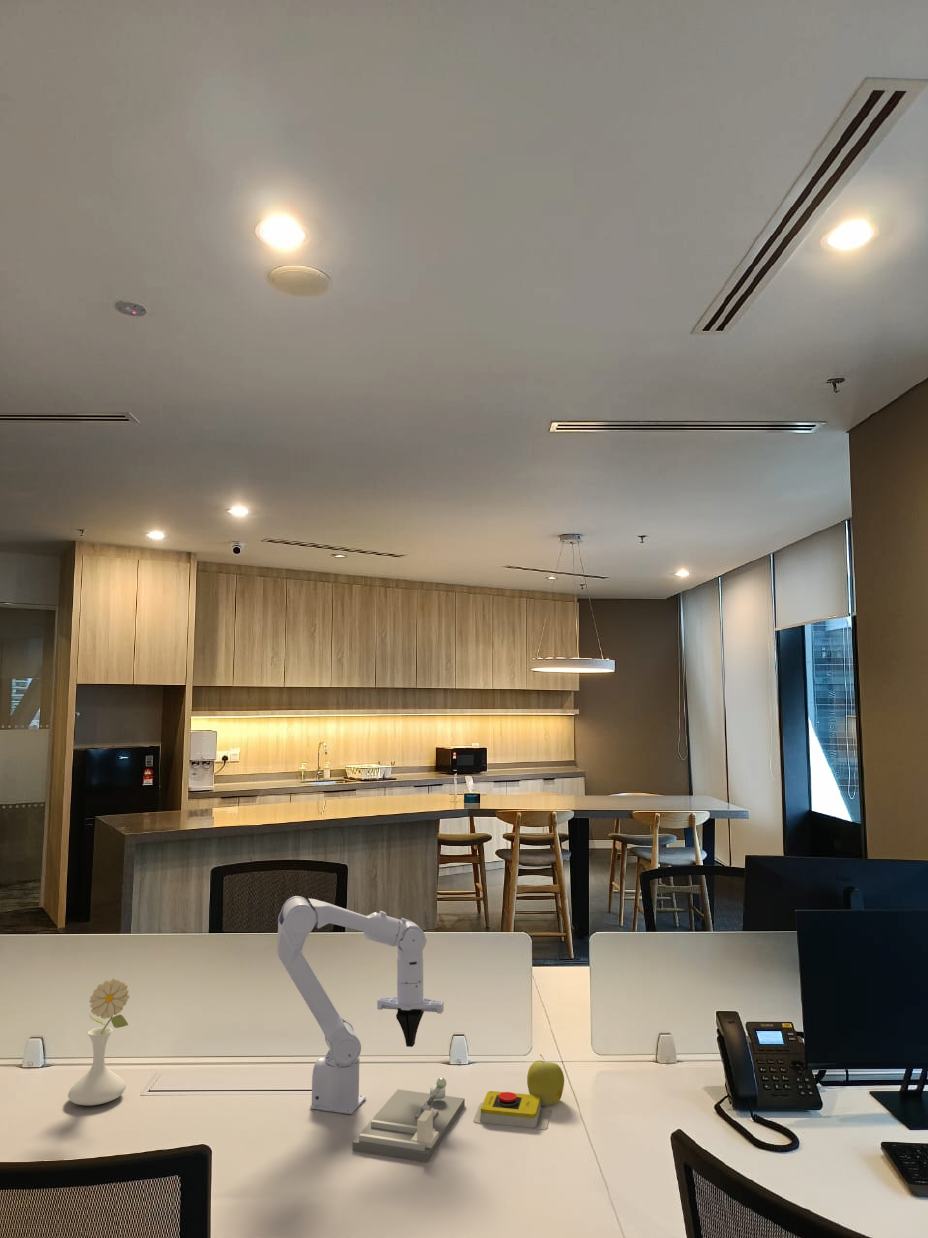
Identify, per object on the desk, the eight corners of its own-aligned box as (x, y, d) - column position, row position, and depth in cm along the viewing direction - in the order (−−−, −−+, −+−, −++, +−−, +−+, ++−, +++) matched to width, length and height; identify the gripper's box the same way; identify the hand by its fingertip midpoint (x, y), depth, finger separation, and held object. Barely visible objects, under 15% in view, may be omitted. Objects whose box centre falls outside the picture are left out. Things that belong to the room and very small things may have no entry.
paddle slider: (410, 1145, 160) (411, 1119, 161) (418, 1134, 164) (418, 1109, 165) (431, 1148, 159) (431, 1122, 160) (438, 1137, 163) (438, 1112, 164)
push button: (427, 1098, 178) (428, 1090, 178) (432, 1092, 181) (432, 1084, 181) (442, 1100, 177) (442, 1092, 177) (447, 1094, 180) (447, 1086, 180)
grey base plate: (352, 1150, 162) (352, 1136, 162) (397, 1096, 184) (397, 1084, 185) (427, 1162, 157) (427, 1148, 158) (464, 1106, 180) (464, 1093, 180)
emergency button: (480, 1083, 182) (551, 1090, 179) (480, 1105, 182) (551, 1112, 179) (472, 1102, 173) (546, 1110, 170) (472, 1125, 173) (546, 1133, 170)
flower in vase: (54, 1105, 179) (61, 981, 182) (96, 1084, 190) (102, 967, 193) (102, 1117, 174) (109, 989, 177) (143, 1094, 185) (148, 974, 188)
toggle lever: (418, 1110, 172) (438, 1078, 171) (422, 1104, 174) (441, 1073, 173) (426, 1116, 171) (446, 1085, 171) (430, 1111, 173) (449, 1080, 173)
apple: (551, 1110, 176) (540, 1057, 179) (524, 1110, 181) (515, 1058, 185) (576, 1100, 181) (566, 1048, 184) (550, 1099, 186) (540, 1049, 190)
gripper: (372, 983, 185) (372, 1049, 184) (437, 987, 182) (438, 1054, 181) (382, 974, 192) (383, 1037, 191) (445, 977, 189) (446, 1042, 187)
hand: (410, 1045), depth 186 cm, fingers closed
